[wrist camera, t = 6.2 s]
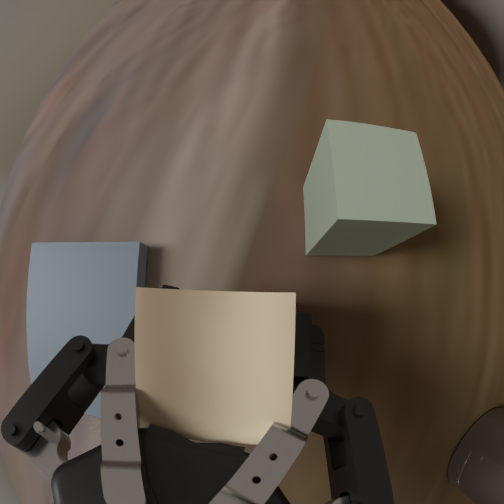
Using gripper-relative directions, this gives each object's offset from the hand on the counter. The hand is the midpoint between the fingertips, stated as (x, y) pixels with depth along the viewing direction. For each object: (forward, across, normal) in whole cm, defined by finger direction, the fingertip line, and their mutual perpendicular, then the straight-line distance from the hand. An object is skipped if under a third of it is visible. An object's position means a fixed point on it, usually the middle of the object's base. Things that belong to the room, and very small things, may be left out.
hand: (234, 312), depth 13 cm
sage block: (+9, -6, -2) cm, 10 cm away
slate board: (0, +12, +6) cm, 13 cm away
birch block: (+2, 0, +5) cm, 5 cm away
